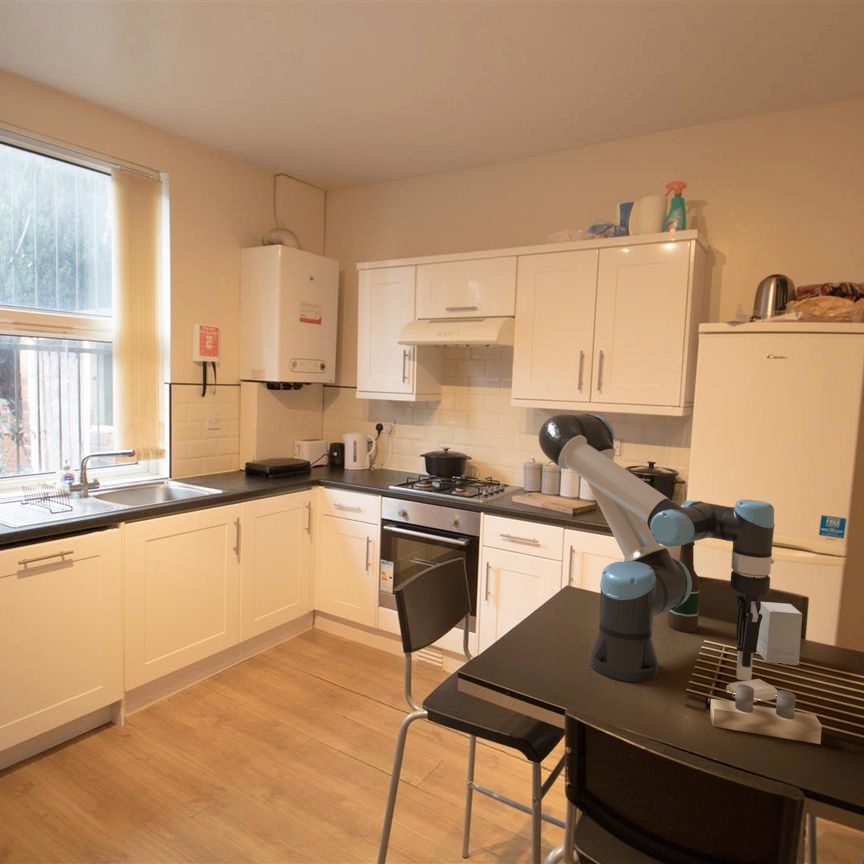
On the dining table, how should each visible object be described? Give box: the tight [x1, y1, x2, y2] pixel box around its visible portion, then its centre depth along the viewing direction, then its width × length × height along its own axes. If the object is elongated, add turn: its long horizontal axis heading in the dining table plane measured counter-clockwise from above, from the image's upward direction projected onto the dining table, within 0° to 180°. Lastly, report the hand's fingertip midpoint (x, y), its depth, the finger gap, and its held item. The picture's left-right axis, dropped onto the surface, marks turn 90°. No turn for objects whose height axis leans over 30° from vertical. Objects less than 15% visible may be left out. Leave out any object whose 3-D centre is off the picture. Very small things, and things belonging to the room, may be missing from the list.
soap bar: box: [725, 678, 779, 703], centre depth 129 cm, size 5×9×3 cm, turn 107°
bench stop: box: [709, 684, 823, 745], centre depth 116 cm, size 18×4×8 cm, turn 74°
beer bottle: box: [667, 541, 701, 633], centre depth 166 cm, size 8×8×24 cm
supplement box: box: [757, 601, 803, 666], centre depth 148 cm, size 7×7×13 cm
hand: (743, 678), depth 134 cm, fingers closed
